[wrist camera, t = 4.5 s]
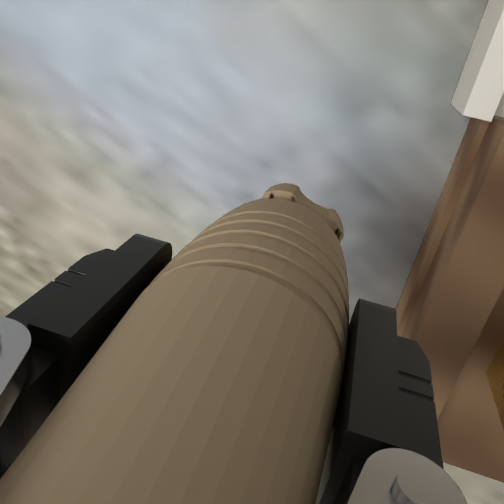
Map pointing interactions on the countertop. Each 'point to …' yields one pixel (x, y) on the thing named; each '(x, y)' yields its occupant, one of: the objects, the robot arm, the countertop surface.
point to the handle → (209, 374)
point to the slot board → (463, 301)
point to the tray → (484, 69)
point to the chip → (498, 381)
